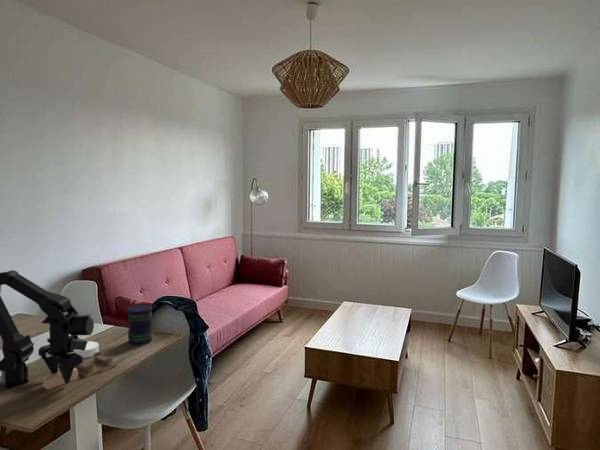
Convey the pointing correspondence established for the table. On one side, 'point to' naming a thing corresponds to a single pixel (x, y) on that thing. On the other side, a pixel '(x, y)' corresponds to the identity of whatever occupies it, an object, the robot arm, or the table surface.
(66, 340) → the robot arm
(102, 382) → the table surface
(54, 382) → the pinkish tan rectangular block
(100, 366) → the tan two-rail tray
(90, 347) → the coaster
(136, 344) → the storage jar
